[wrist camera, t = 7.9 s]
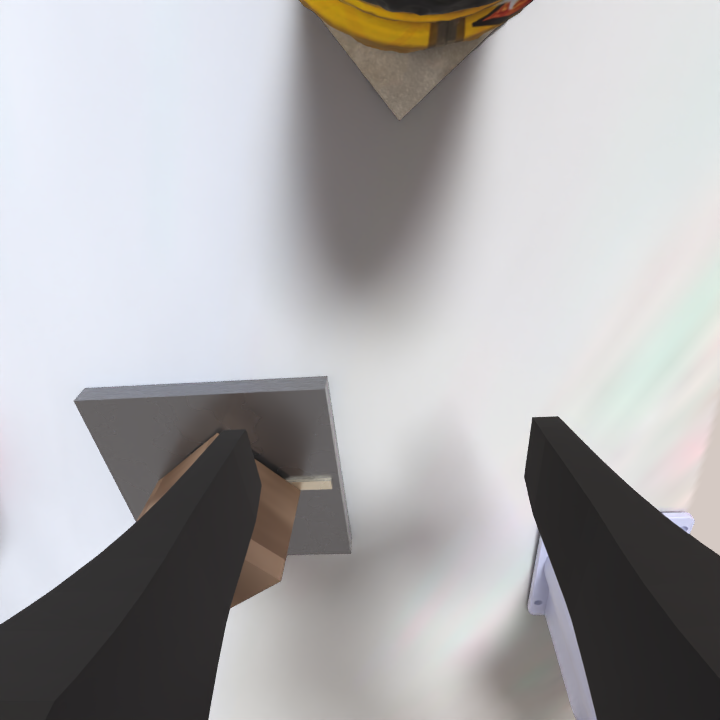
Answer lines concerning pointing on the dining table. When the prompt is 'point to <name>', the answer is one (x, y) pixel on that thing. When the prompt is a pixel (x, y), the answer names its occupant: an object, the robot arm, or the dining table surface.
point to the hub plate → (213, 415)
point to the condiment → (410, 39)
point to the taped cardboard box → (269, 528)
